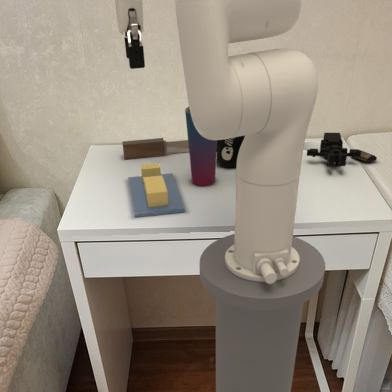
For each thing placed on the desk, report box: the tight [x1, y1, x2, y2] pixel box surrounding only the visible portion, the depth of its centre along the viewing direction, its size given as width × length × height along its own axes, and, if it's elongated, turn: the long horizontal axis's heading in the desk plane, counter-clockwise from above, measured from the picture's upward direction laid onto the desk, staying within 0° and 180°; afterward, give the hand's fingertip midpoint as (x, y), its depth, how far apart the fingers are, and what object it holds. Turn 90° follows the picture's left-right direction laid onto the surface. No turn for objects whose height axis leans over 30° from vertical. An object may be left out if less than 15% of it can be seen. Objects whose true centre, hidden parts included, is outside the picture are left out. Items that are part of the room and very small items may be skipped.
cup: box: [184, 106, 217, 187], centre depth 105 cm, size 7×7×15 cm
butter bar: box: [143, 175, 168, 207], centre depth 101 cm, size 8×4×3 cm, turn 10°
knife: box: [121, 137, 189, 160], centre depth 122 cm, size 2×19×4 cm, turn 100°
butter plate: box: [127, 172, 186, 218], centre depth 105 cm, size 18×10×1 cm, turn 10°
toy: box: [306, 132, 362, 167], centre depth 114 cm, size 12×5×15 cm
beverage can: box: [216, 136, 244, 169], centre depth 113 cm, size 7×7×12 cm
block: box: [354, 148, 378, 162], centre depth 116 cm, size 4×6×2 cm, turn 30°
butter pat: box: [140, 162, 162, 182], centre depth 109 cm, size 2×4×3 cm, turn 100°
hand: (135, 62), depth 109 cm, fingers open, 9 cm apart
